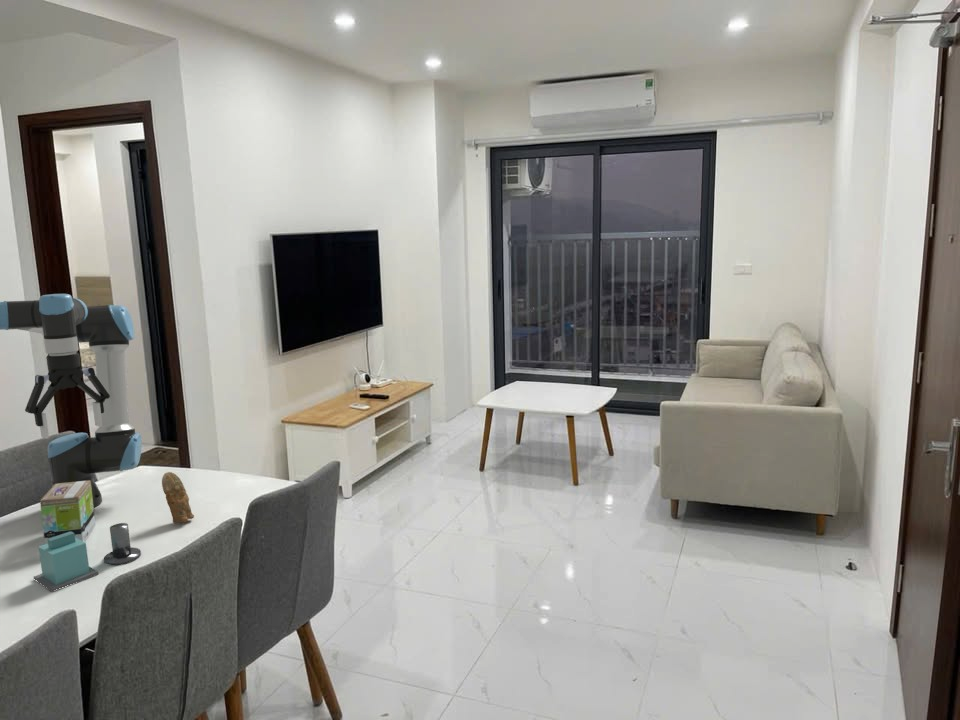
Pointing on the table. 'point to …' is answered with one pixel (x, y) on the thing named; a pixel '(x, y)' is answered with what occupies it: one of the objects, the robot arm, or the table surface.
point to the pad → (53, 586)
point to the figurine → (176, 498)
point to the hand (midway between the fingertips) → (72, 431)
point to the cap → (63, 558)
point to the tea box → (68, 510)
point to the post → (121, 546)
